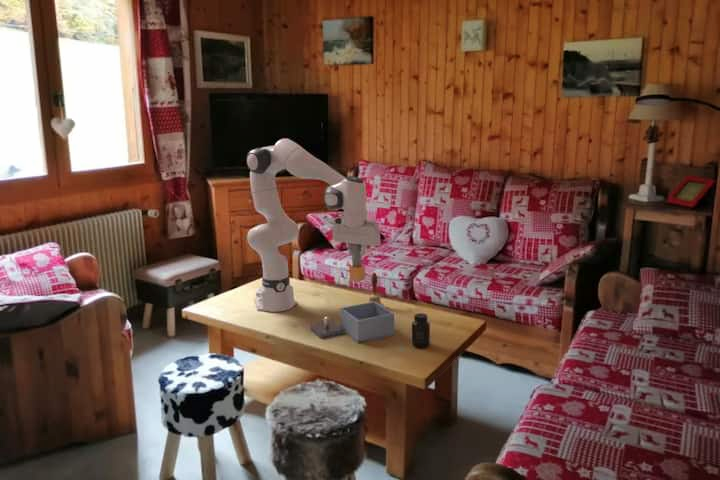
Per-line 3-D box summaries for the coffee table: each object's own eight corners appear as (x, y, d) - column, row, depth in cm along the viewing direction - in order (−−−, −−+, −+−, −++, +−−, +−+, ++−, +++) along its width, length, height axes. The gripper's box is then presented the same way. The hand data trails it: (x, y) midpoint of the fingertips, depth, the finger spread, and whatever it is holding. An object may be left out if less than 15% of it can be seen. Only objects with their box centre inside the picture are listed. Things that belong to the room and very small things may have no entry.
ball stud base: (310, 329, 238) (310, 315, 237) (333, 325, 243) (332, 310, 241) (320, 338, 230) (319, 323, 228) (343, 333, 234) (343, 318, 232)
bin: (340, 328, 239) (339, 308, 237) (375, 321, 246) (374, 301, 243) (358, 343, 225) (357, 321, 223) (394, 335, 232) (394, 313, 230)
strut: (356, 277, 232) (354, 241, 229) (365, 279, 230) (364, 242, 227) (349, 280, 229) (348, 244, 226) (359, 282, 227) (357, 245, 223)
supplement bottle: (433, 344, 223) (433, 314, 220) (422, 350, 218) (423, 320, 215) (418, 339, 227) (419, 310, 224) (408, 345, 222) (408, 315, 219)
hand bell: (361, 307, 263) (361, 272, 259) (375, 302, 268) (375, 269, 264) (374, 312, 257) (373, 277, 253) (388, 307, 262) (387, 273, 258)
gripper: (383, 220, 221) (384, 255, 224) (338, 216, 232) (340, 250, 235) (374, 223, 216) (375, 259, 219) (329, 219, 227) (331, 253, 230)
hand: (356, 254), depth 227 cm, fingers closed on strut, 4 cm apart
